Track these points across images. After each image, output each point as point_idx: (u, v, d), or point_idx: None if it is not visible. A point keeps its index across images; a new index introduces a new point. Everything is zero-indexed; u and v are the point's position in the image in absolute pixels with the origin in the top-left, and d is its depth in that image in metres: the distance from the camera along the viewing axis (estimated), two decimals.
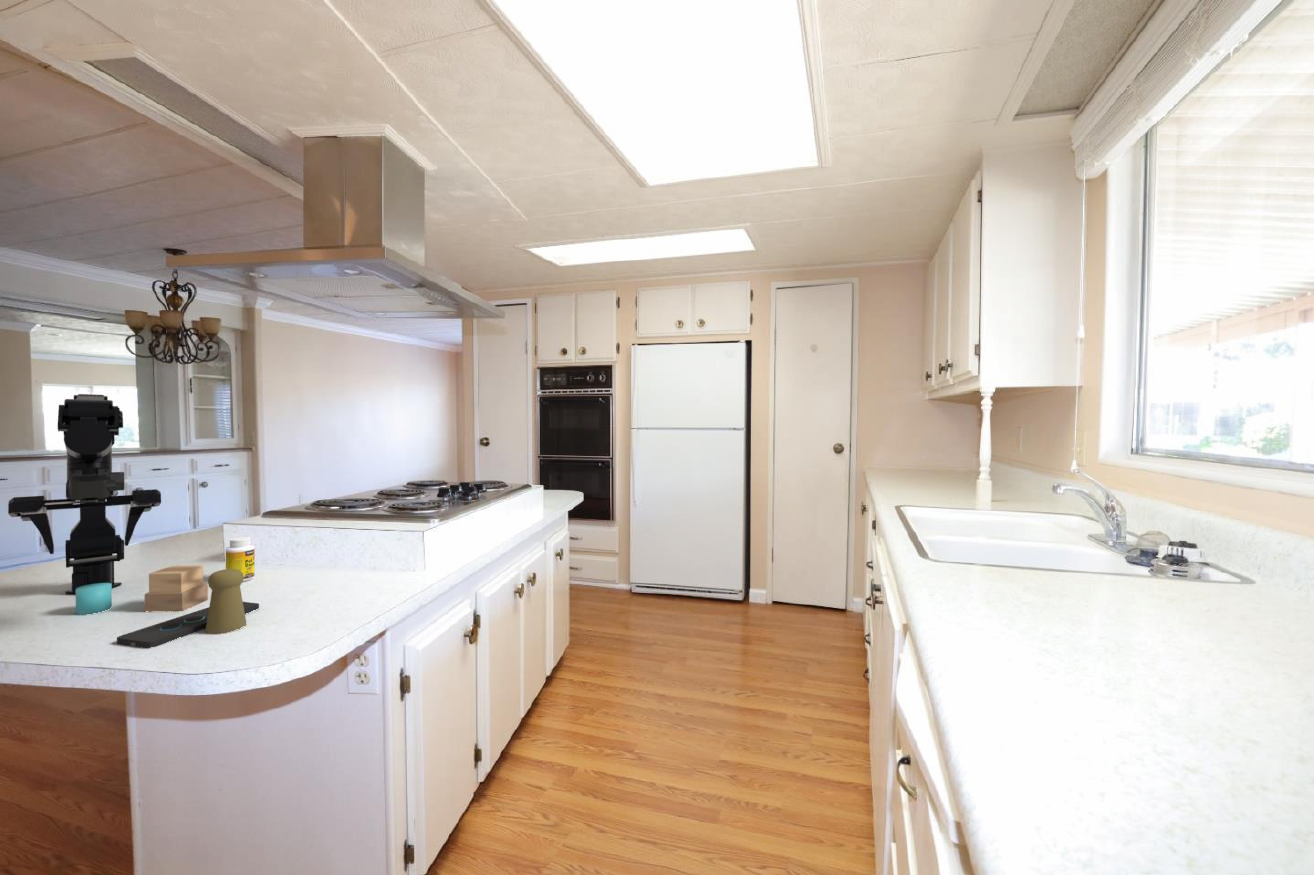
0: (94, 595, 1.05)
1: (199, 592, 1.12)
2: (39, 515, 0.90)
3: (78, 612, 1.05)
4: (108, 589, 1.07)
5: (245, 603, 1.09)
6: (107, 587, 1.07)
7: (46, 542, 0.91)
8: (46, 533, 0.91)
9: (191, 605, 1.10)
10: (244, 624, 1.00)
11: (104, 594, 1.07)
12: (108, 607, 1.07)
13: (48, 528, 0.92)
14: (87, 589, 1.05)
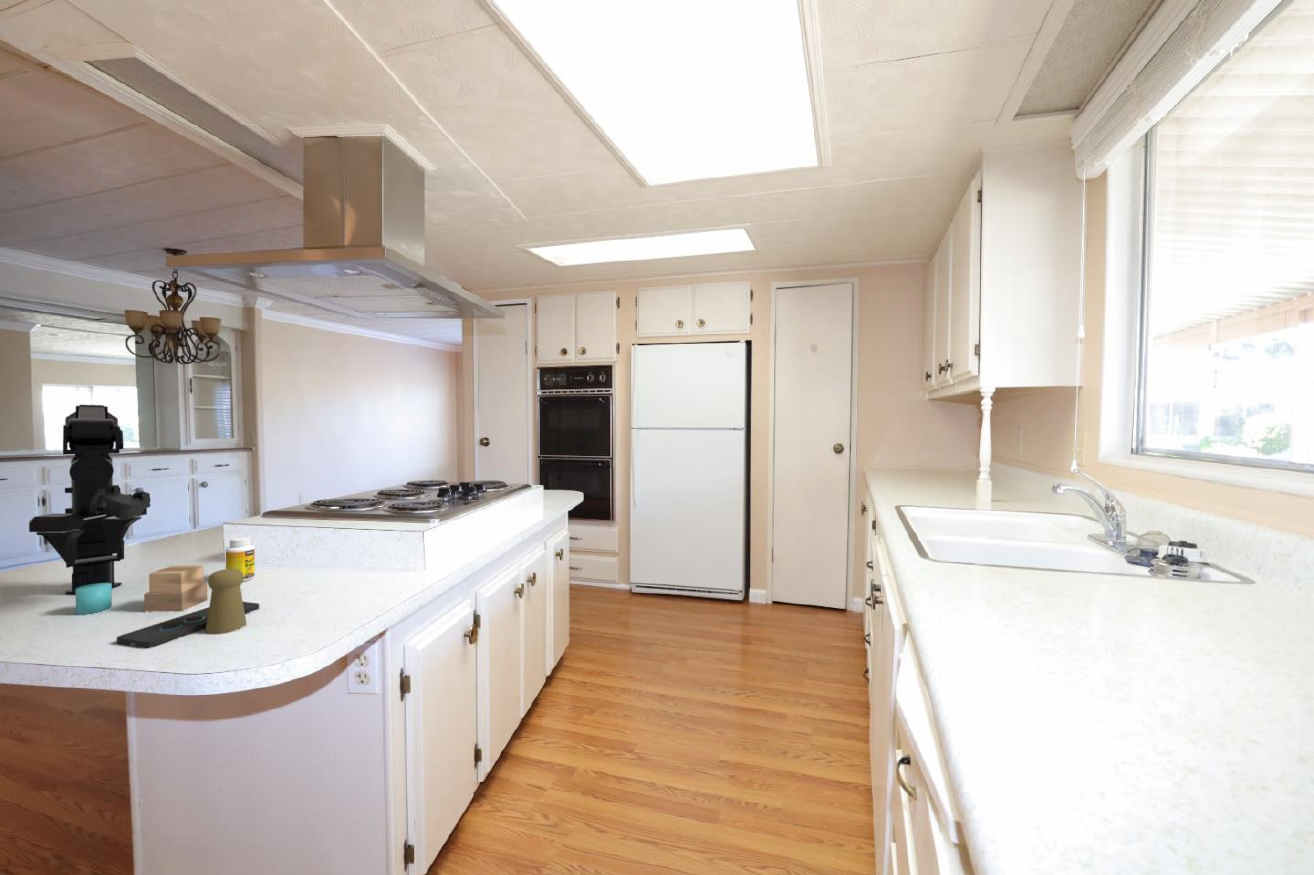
0: (94, 595, 1.05)
1: (199, 592, 1.12)
2: (79, 532, 1.01)
3: (78, 612, 1.05)
4: (108, 589, 1.07)
5: (246, 603, 1.09)
6: (107, 587, 1.07)
7: (72, 554, 1.02)
8: (74, 546, 1.02)
9: (191, 605, 1.10)
10: (244, 624, 1.00)
11: (104, 594, 1.07)
12: (108, 607, 1.07)
13: (76, 542, 1.02)
14: (87, 589, 1.05)
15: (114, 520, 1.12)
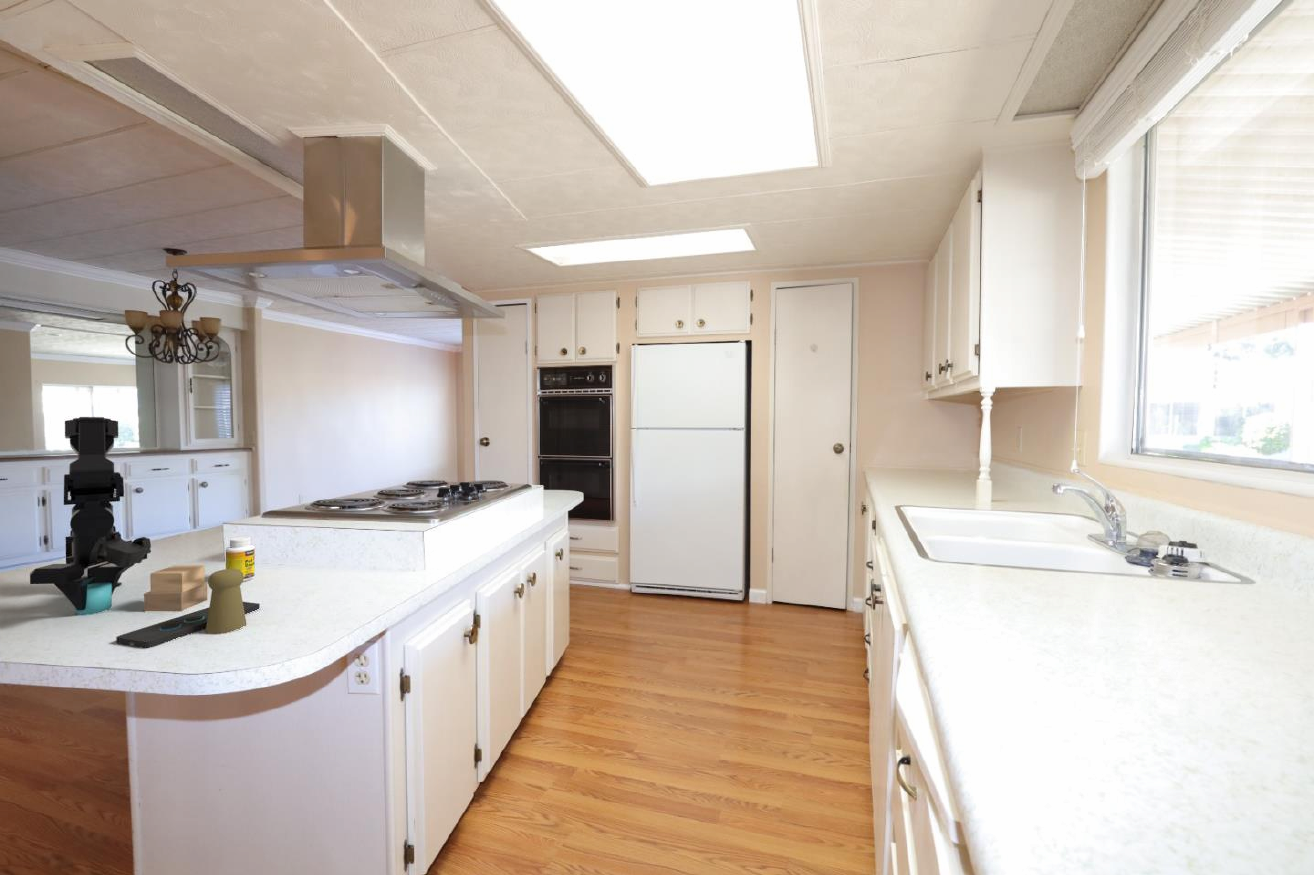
0: (94, 595, 1.05)
1: (198, 592, 1.12)
2: (90, 579, 1.03)
3: (78, 612, 1.05)
4: (108, 589, 1.07)
5: (246, 604, 1.09)
6: (107, 587, 1.07)
7: (83, 601, 1.04)
8: (84, 593, 1.04)
9: (190, 605, 1.10)
10: (244, 624, 1.00)
11: (104, 594, 1.07)
12: (108, 607, 1.07)
13: (86, 588, 1.04)
14: (87, 589, 1.05)
15: (106, 568, 1.10)
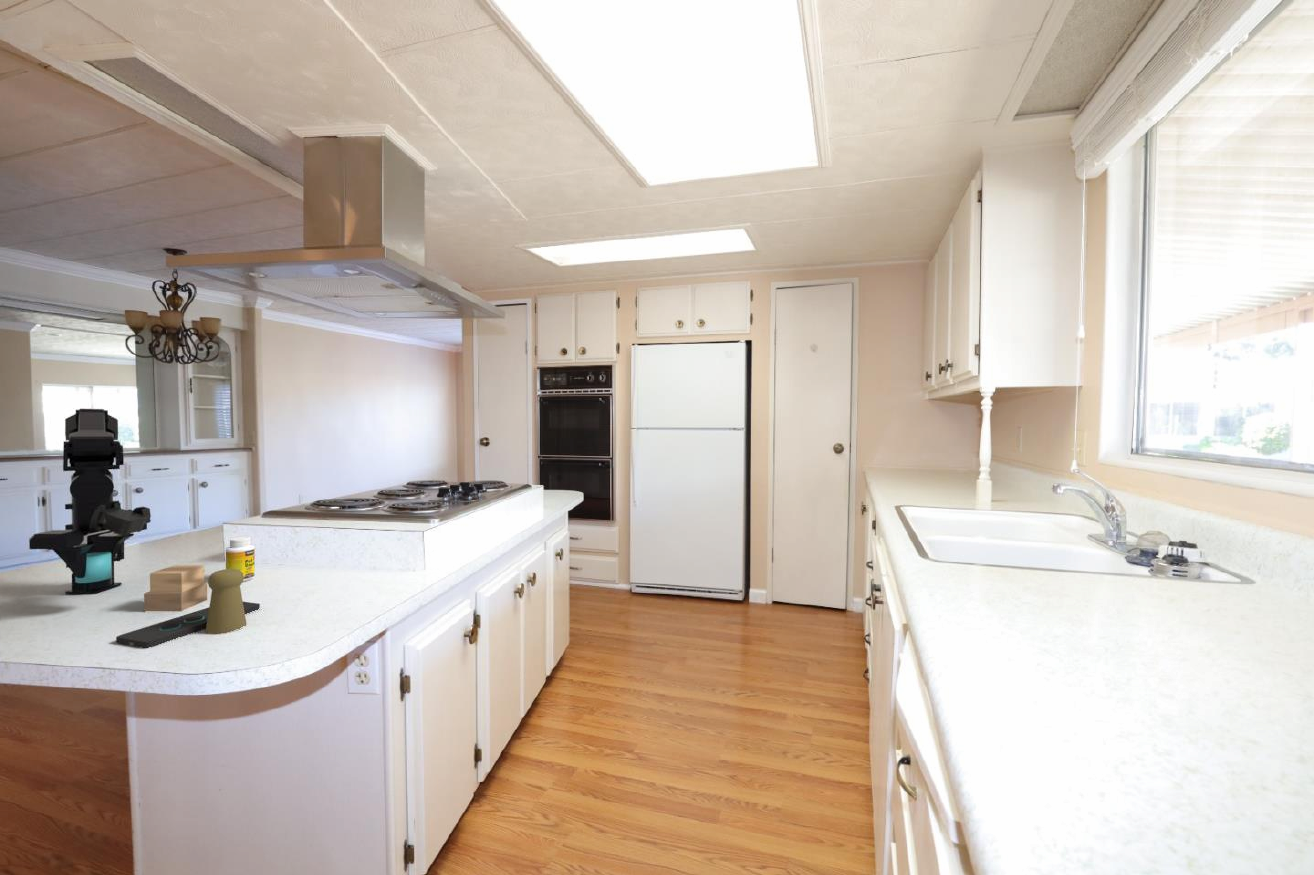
0: (93, 563, 1.05)
1: (198, 592, 1.12)
2: (89, 546, 1.03)
3: (78, 580, 1.04)
4: (108, 557, 1.07)
5: (246, 603, 1.09)
6: (107, 555, 1.07)
7: (82, 568, 1.03)
8: (84, 560, 1.03)
9: (190, 605, 1.10)
10: (244, 624, 1.00)
11: (104, 563, 1.06)
12: (108, 576, 1.07)
13: (86, 556, 1.04)
14: (87, 557, 1.05)
15: (106, 537, 1.10)
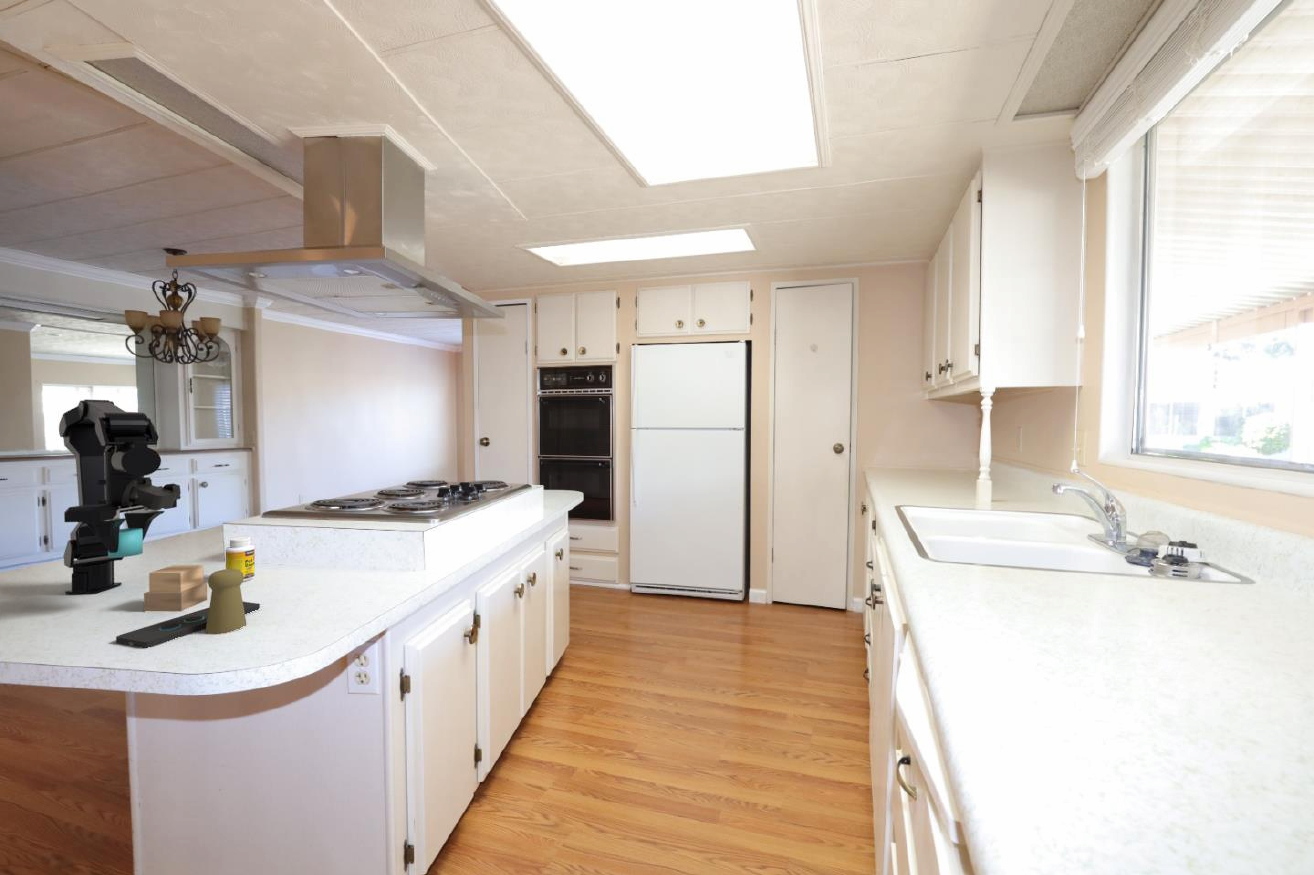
0: (125, 538, 1.06)
1: (198, 591, 1.12)
2: (122, 520, 1.04)
3: (110, 554, 1.05)
4: (139, 533, 1.08)
5: (246, 604, 1.09)
6: (138, 531, 1.08)
7: (115, 543, 1.04)
8: (117, 535, 1.04)
9: (190, 604, 1.10)
10: (244, 624, 1.00)
11: (135, 538, 1.07)
12: (139, 551, 1.08)
13: (118, 531, 1.05)
14: (119, 532, 1.06)
15: (137, 514, 1.11)
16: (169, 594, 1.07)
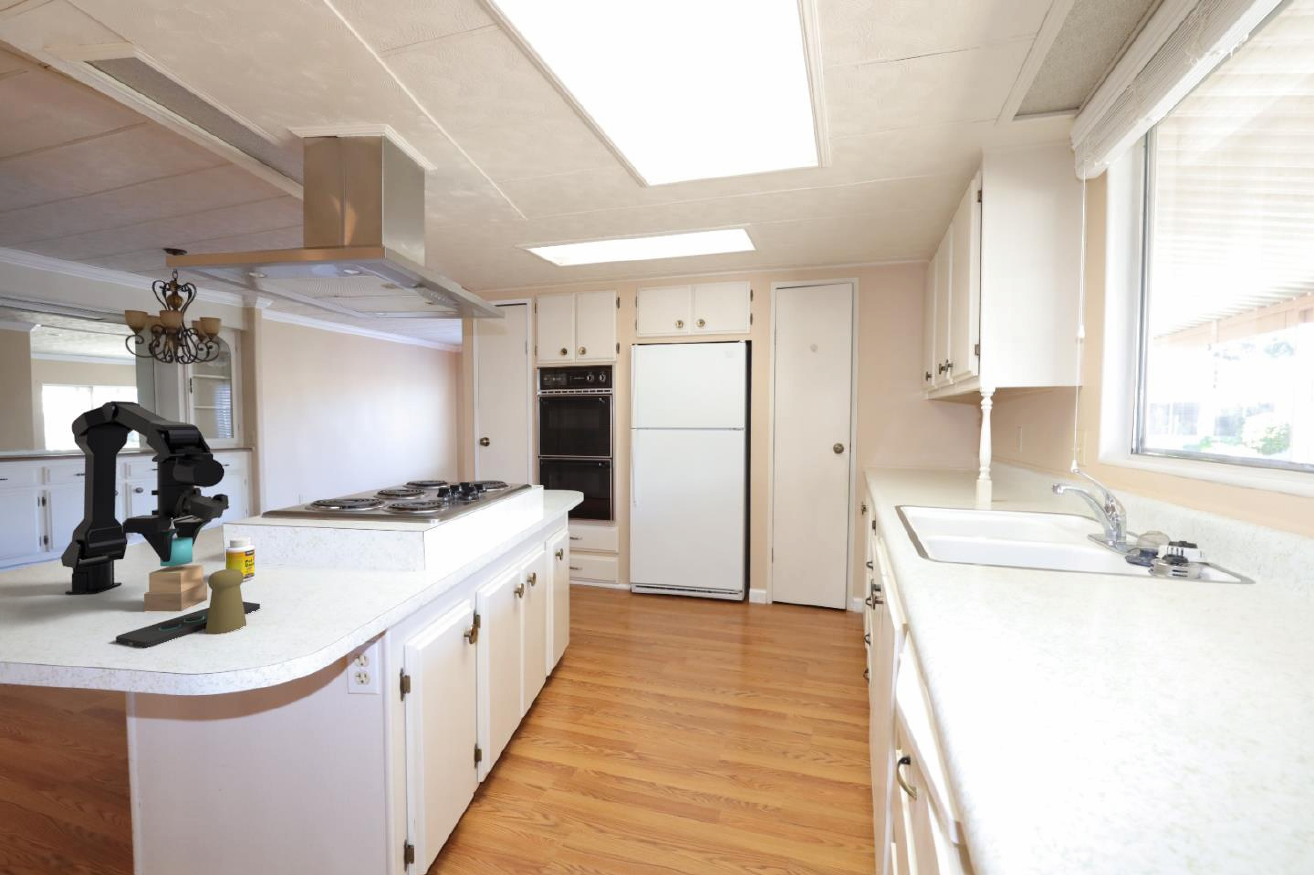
0: (178, 547, 1.08)
1: (198, 592, 1.12)
2: (175, 531, 1.06)
3: (163, 563, 1.08)
4: (190, 542, 1.11)
5: (247, 604, 1.09)
6: (189, 540, 1.10)
7: (168, 552, 1.07)
8: (170, 545, 1.07)
9: (190, 605, 1.10)
10: (244, 624, 1.00)
11: (187, 547, 1.10)
12: (190, 560, 1.11)
13: (171, 540, 1.07)
14: None
15: (186, 523, 1.13)
16: (169, 594, 1.07)
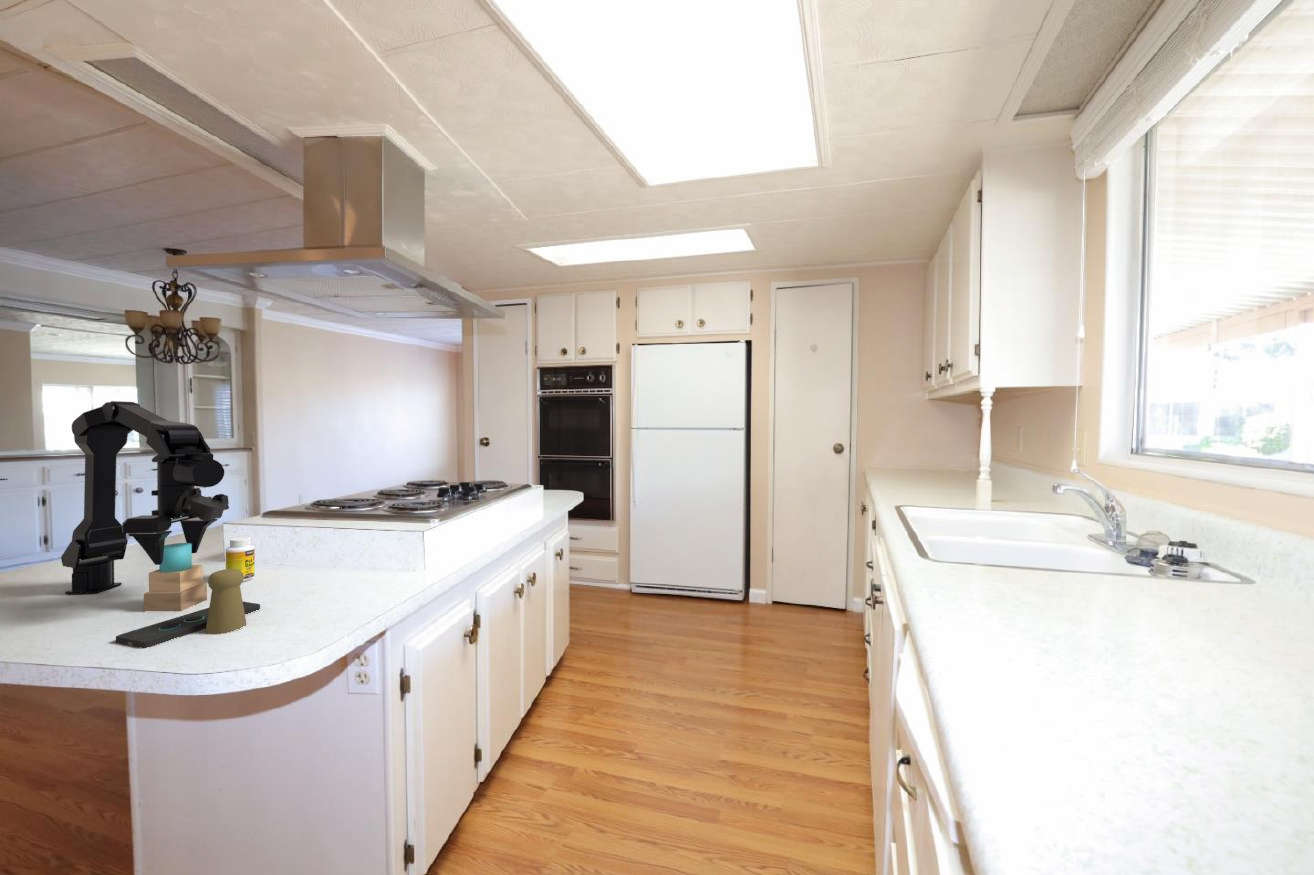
0: (177, 553, 1.09)
1: (198, 592, 1.12)
2: (168, 533, 1.04)
3: (162, 569, 1.08)
4: (189, 548, 1.11)
5: (247, 604, 1.09)
6: (188, 546, 1.10)
7: (160, 555, 1.05)
8: (162, 547, 1.05)
9: (190, 605, 1.10)
10: (244, 624, 1.00)
11: (186, 553, 1.10)
12: (189, 566, 1.11)
13: (164, 543, 1.05)
14: (171, 547, 1.08)
15: (193, 522, 1.15)
16: (169, 594, 1.07)
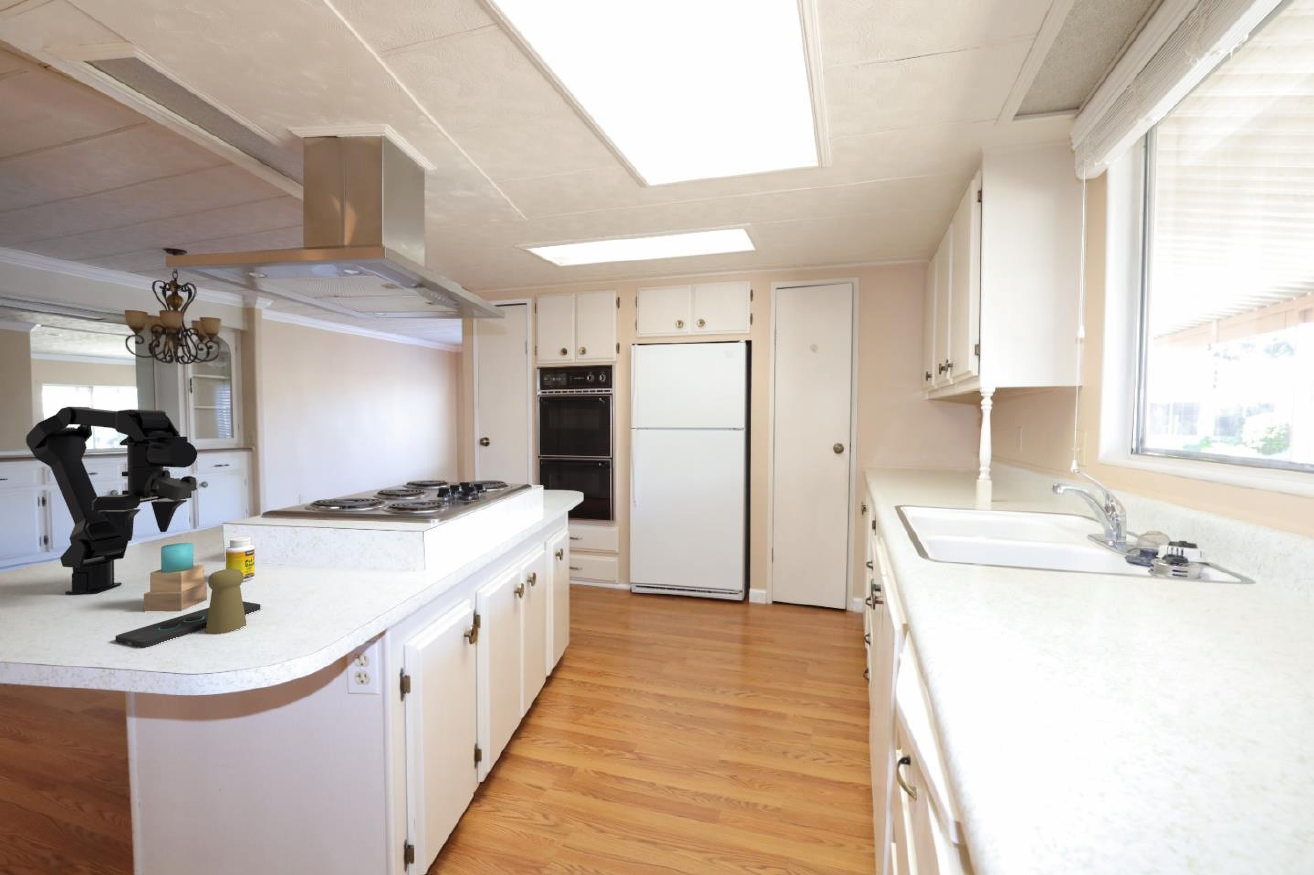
0: (178, 553, 1.09)
1: (198, 592, 1.12)
2: (136, 511, 1.11)
3: (163, 569, 1.08)
4: (190, 548, 1.11)
5: (248, 604, 1.09)
6: (190, 546, 1.11)
7: (130, 532, 1.12)
8: (131, 524, 1.12)
9: (190, 605, 1.10)
10: (244, 624, 1.00)
11: (187, 553, 1.10)
12: (190, 566, 1.11)
13: (133, 520, 1.12)
14: (172, 547, 1.09)
15: (163, 502, 1.22)
16: (169, 594, 1.07)
